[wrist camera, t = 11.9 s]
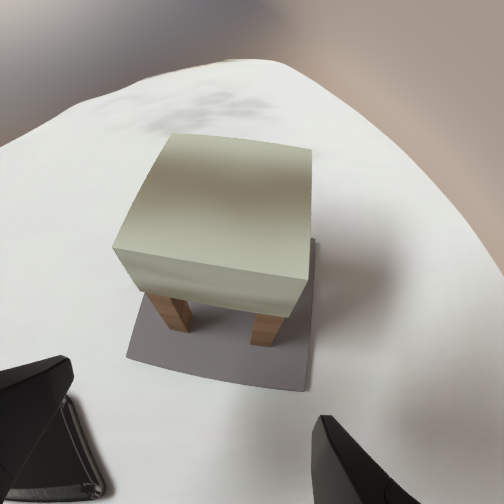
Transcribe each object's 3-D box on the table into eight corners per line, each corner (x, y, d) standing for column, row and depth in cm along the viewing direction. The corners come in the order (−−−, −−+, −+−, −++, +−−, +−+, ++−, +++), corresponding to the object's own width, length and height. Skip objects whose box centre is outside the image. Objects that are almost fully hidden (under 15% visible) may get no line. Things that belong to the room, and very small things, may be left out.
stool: (270, 349, 17) (308, 280, 8) (168, 330, 17) (111, 247, 9) (281, 259, 20) (311, 149, 12) (192, 245, 20) (172, 133, 12)
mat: (302, 391, 16) (304, 391, 15) (128, 358, 16) (126, 356, 16) (313, 242, 21) (315, 238, 21) (173, 220, 22) (172, 216, 21)
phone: (107, 498, 10) (-20, 496, 6) (113, 494, 11) (-12, 496, 7) (62, 386, 14) (-46, 413, 9) (71, 388, 15) (-38, 415, 10)
